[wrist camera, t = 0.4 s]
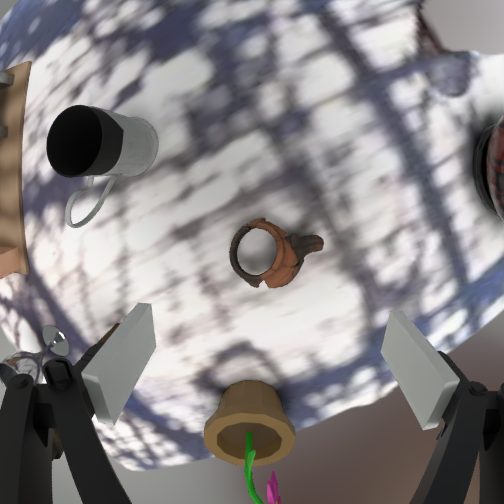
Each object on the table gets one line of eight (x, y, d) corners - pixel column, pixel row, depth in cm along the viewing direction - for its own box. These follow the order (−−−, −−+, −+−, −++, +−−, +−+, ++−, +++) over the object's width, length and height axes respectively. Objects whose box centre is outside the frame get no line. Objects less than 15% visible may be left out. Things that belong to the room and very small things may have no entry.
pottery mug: (261, 295, 46) (234, 299, 38) (243, 236, 48) (214, 229, 40) (338, 269, 41) (325, 267, 34) (315, 205, 43) (298, 191, 36)
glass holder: (165, 122, 39) (118, 102, 24) (143, 219, 43) (91, 244, 28) (112, 113, 38) (52, 97, 24) (93, 206, 42) (31, 224, 28)
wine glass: (51, 316, 48) (4, 356, 33) (77, 349, 49) (37, 395, 35) (34, 333, 49) (-8, 371, 35) (59, 363, 51) (21, 406, 36)
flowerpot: (295, 420, 52) (309, 560, 23) (222, 429, 53) (203, 563, 24) (285, 364, 48) (300, 531, 19) (201, 375, 49) (160, 530, 20)
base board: (-7, 77, 35) (-10, 77, 34) (31, 61, 35) (28, 60, 34) (-7, 267, 46) (-10, 269, 45) (29, 272, 46) (26, 274, 45)
